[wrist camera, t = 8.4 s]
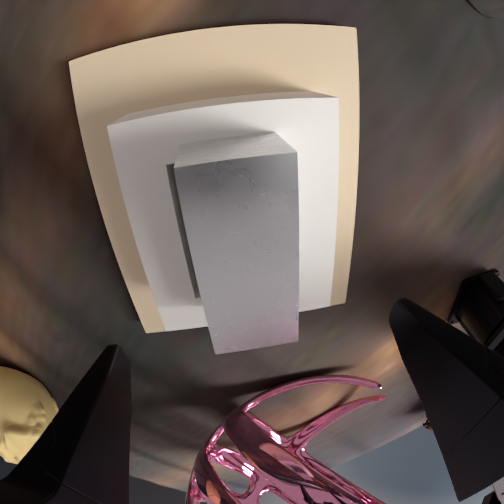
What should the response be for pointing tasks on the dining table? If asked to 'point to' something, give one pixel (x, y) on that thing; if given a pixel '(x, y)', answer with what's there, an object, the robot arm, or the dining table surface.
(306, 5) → the dining table surface
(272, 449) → the pink openwork sphere
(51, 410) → the sculpture
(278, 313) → the grey wooden block
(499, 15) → the beer glass
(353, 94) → the cream square frame
